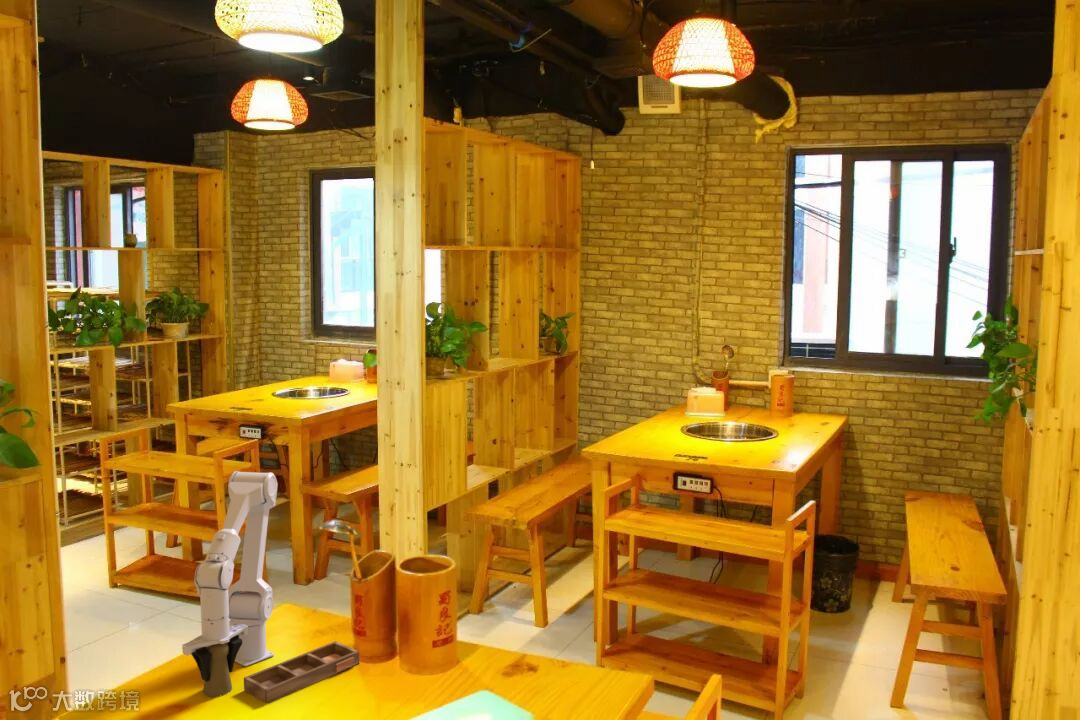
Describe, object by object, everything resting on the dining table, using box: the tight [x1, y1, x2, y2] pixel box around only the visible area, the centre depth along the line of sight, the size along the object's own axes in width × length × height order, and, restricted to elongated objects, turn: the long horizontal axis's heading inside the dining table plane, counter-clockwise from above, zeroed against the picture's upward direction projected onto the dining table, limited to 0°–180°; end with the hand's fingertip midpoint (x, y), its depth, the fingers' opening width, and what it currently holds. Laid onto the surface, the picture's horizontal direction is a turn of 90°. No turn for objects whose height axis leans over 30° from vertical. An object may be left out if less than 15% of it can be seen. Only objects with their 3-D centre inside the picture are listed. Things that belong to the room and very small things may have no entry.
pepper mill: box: [202, 643, 233, 698], centre depth 197 cm, size 6×6×11 cm
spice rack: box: [243, 641, 360, 704], centre depth 204 cm, size 9×25×3 cm, turn 141°
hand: (217, 675), depth 198 cm, fingers closed on pepper mill, 5 cm apart
